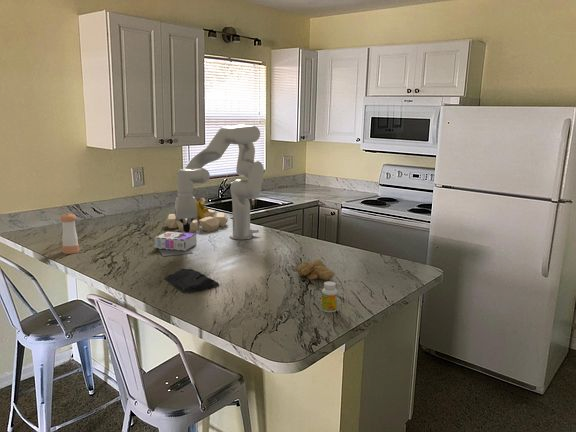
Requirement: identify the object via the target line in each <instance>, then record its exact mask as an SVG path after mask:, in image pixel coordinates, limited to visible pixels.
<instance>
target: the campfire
mask: <svg viewBox="0 0 576 432" xmlns="http://www.w3.org/2000/svg"><path fill="white" fill-rule="evenodd" d="M195 200H196V206H197V219H196V220H193V221H192V222H191V224H190V230H189V232H187V233H196V232H198V231H199V224H200V227H201V229H202V231H203V232H208V233H209V232H213V231H217V230H218V228H223V227H224V228H225V227H226V225H227V224H228V222H229V221H228V220H229V219H228V217H227V215H226V213H225V212H216V210H214V209H210V208H208V207H205V205H206V198H204V197H201V198H200V199H199V200H197V199H196V198H195ZM175 217H176V216H175V213H169V214H168V215H167V217H166V219H165V221H164V223H165V224H166V226H167V228H168V229H177V228H178V229H179V230H180V232H181V233H186V232H185V231H184V230H183V223H182V222H180V221H176V220H175ZM185 221H186V223H187V218H185Z"/></svg>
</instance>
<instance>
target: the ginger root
mask: <svg viewBox="0 0 576 432" xmlns="http://www.w3.org/2000/svg"><path fill="white" fill-rule="evenodd" d="M293 269H294V270H295V271H297V272H298V275H299V276H306V277H307V279H308V280H311V281H312V280H317V279H318V280H322V281H329V280H330V279H333V278H334V276H335V272H334V271H333V269H331V270H330V268H328V267H327V265H326V264H325V263H323V261H322V260H321V259H320V258H317V259H314V260H312V262H310V261H304V262H302V263H301V264H299V266H294V267H293Z"/></svg>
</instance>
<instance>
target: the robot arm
mask: <svg viewBox="0 0 576 432" xmlns="http://www.w3.org/2000/svg"><path fill="white" fill-rule="evenodd" d="M260 138H261V131H260V128H258V126H256V125H248V124H246V125H245V124H236V125H234V126H223V127H221V128H219V130H218V131H217V132H216V134H215V135H213V138H212V139H211V141H210V142H209V143H208V145H207V146H206V147H205V148H204V149H202V150H201V151H200V152H199V153H197V154H196V155H194V156H193V157H192V158H191V159H190V161H189V162H188V163H187V165H186V166H185V168H180V169H178V170H177V171H176V182H177V183H176V185H177V197H176V198H175V203H174V214H175V216H176V217H175V220H176V221H180V222H182V223H183V230H184V231H185V232H186V233H187V232H189V230H190V224H191V222H192V221H193V220H196V221H197V206H196V200H197V199H196V197H195V196H196V195H197V191H194V184H201V185H202V184H205V183H207V182H208V181H209V180H210V178H211V175H210V172H209V171H208V170H207V169H206V168H203V167H205V166H206V165H207V164H210V163H212V162H215V161H217V160H220V159H221V158H222V156H224V154H225V152H226V151H227V149H228V148H229V146H230V145H237V146H238V155H237V162H236V168H235V169H236V174H237V175H238V176H239V177H243V179H242V178H237V179H235V180H233V181H232V183H231V184H230V188H229V189H230V195H231V200H232V201H231V202H232V204H231V205H232V206H231V207H232V233H230V234H229V237H230V239H233V240H240V241H241V240H242V241H243V240H249V239H250V240H251V239H252V238H253V237H254V234H255V233H256V234H258V233H260V232H259V231H260V230H259V229H258V228H257V229H256V228H251V202H250V200H255V199H257V198H258V197H259V196H260V194H261V191H262V186H263V181H264V180H263V179H264V173H265V168H264V166H263V165H264V164H262V162H261V161H259V160H255V155H256V148H255V145H254V143H256V142H258V141H259V139H260ZM244 178H247V179H244ZM195 199H196V200H195ZM185 218H187V223H186V221H185ZM185 232H184V233H185Z"/></svg>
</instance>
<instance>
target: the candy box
mask: <svg viewBox="0 0 576 432" xmlns="http://www.w3.org/2000/svg"><path fill="white" fill-rule="evenodd" d="M197 243H198V241H197V233H196V232H193V233H185V232H181V231H180V232H178V231H166V232H164V233H161V234H159V235H157V236H155V237H154V249H157V250H158V249H166V250H178V251H186V250H188V249H191V248H193V247H194V246H195V245H197Z"/></svg>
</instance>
